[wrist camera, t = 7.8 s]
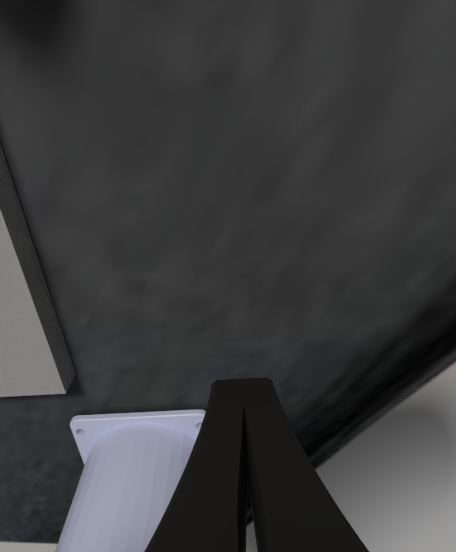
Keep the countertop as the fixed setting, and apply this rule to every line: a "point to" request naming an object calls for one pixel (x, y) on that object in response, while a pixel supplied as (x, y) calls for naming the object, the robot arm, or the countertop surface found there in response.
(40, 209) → the countertop surface
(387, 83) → the countertop surface
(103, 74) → the countertop surface
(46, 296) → the dial plate
